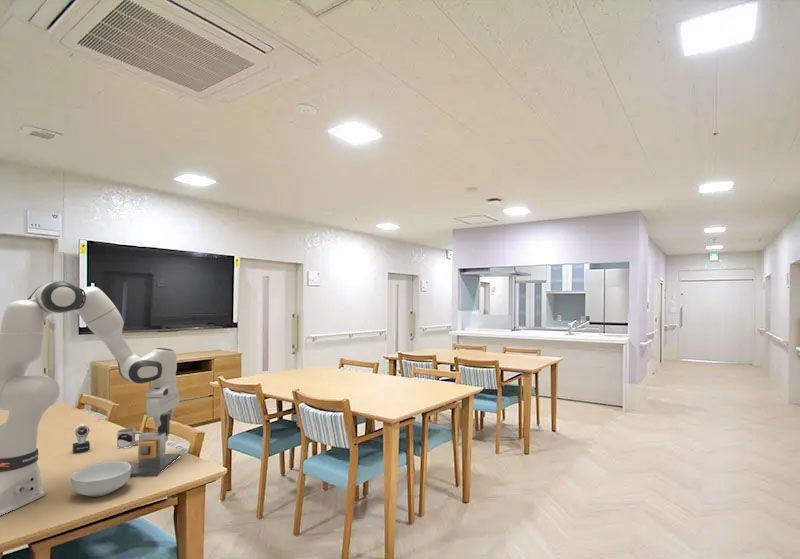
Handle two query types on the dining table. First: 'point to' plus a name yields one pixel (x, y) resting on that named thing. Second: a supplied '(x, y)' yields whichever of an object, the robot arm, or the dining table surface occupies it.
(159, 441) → the stand
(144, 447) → the dark angled piece
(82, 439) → the watch
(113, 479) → the cereal bowl
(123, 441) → the mug
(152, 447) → the orange flat block
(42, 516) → the dining table surface
